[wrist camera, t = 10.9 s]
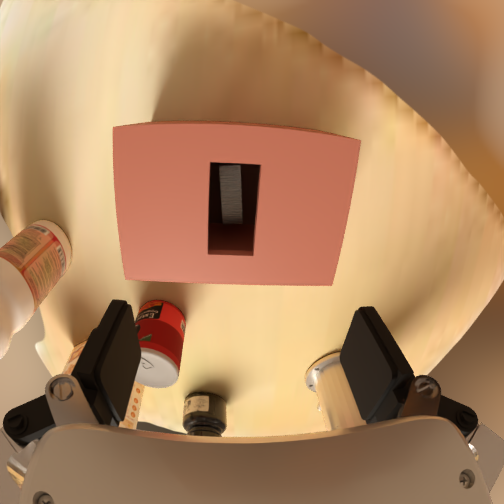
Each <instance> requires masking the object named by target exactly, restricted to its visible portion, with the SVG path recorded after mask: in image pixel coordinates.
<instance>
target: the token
mask: <svg viewBox="0 0 504 504" xmlns="http://www.w3.org/2000/svg"><path fill="white" fill-rule="evenodd" d="M219 170H220V187H221V203H222V218H223V225H226V224H243V219H242V194H241V167H240V163H222V162H220V165H219Z"/></svg>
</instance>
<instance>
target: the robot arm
mask: <svg viewBox="0 0 504 504" xmlns="http://www.w3.org/2000/svg"><path fill="white" fill-rule="evenodd" d="M140 360H141V348H140V344H139V339H138V335H137V331H136V326H135V321H134V317H133V312H132V307H131V305H130V304H127V301H125V300H112V301H111V303H110V305H109V307H108V309H107V310H106V312H105V314H104V316H103V318H102V320H101V322H100V324H99V326H98V328H97V329H96V328H95V329H93V331H92V332H91V334H90V336H89V338H88V340H87V342H86V344H85V346H84V348H83V350H82V352H81V354H80V356H79V358H78V360H77V362H76V364H75V366H74V369H73V371H72V373H71V375H68V374H59V375H56V376H54V377H52V378H51V379H50V380H49V381H48V383H47V384H46V387H45V395H43V396H40V397H38V398H36V399H34V400H32V401H29V402H27V403H25V404H23V405H20V406H18V407H16V408H13V409H11V410H10V411H9V412H8V413H7V414H6V415H5V417H4V420H3V427H2V428H1V429H0V504H492V500H491V497H490V494H489V493H490V491H491V489H492V487H493V485H494V484H495V481H496V480H497V478H498V476H499V474H500V472H501V469H502V468H503V465H504V440H503V439H502V438H501V437H499V436H498V435H497V434H496V433H494V432H493V431H492V430H490V429H489V428H488V427H487V426H485V425H484V424H483V423H482V422H481V423H480V424H478V418H477V415H476V413H475V412H474V411H473V410H472V409H471V408H469V407H467V406H465V405H463V404H460V403H458V402H456V401H454V400H451V399H449V398H447V397H445V396H442V395H441V387H440V385H439V383H438V382H437V381H436V380H435V379H434V378H432V377H430V376H427V375H419V376H416V377H415V376H414V374H413V373H414V372H413V370H412V368H411V367H410V365H409V363H408V361H407V360H406V358H405V356H404V355H403V353H402V351H401V350H400V348H399V346H398V345H397V343H396V341H395V340H394V338H393V337H392V335H391V333H390V332H389V330H388V328H387V327H386V325H385V324H384V322H383V321H382V319H381V317H380V316H379V314H378V313H377V311H376V310H375V308H374V307H372V306H367V307H360V308H359V309H358V310H356V311H355V313H354V316H353V319H352V322H351V325H350V328H349V331H348V333H347V336H346V339H345V342H344V344H343V347H342V350H341V352H337V353H333V354H330V355H328V356H326V357H324V358H322V359H320V360H318V361H317V362H316V363H314V364H313V365H312V366H311V367H310V368H309V370H308V371H307V373H306V375H305V382H306V386H307V387H308V388H309V389H310V390H311V391H314V392H316V393H317V396H318V400H319V403H318V405H317V409H318V410H321V411H322V414H323V418H324V422H325V425H326V429H327V431H324V432H316V433H307V434H297V435H285V436H267V437H208V436H190V435H178V434H167V433H159V432H151V431H143V430H136V429H129V428H123V427H119V424H120V421H122V422H123V421H124V419H125V415H126V411H127V407H128V404H129V400H130V396H131V392H132V389H133V385H134V381H135V378H136V374H137V371H138V367H139V364H140Z"/></svg>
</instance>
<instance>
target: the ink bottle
mask: <svg viewBox="0 0 504 504" xmlns="http://www.w3.org/2000/svg"><path fill="white" fill-rule="evenodd" d="M183 427H184V429H185V430H186V431H187V432H188V433H187V435H190V436H208V437H222V436H221V434H222V433H223V432H224V431H225V430H226V427H227V421H226V402H225V400H224V399H223V398H221V397H219V396H217V395H215V394H211V393H205V392H199V393H194V394H191V395H189V396H188V397H187V398H186V399H185V402H184V412H183Z"/></svg>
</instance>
